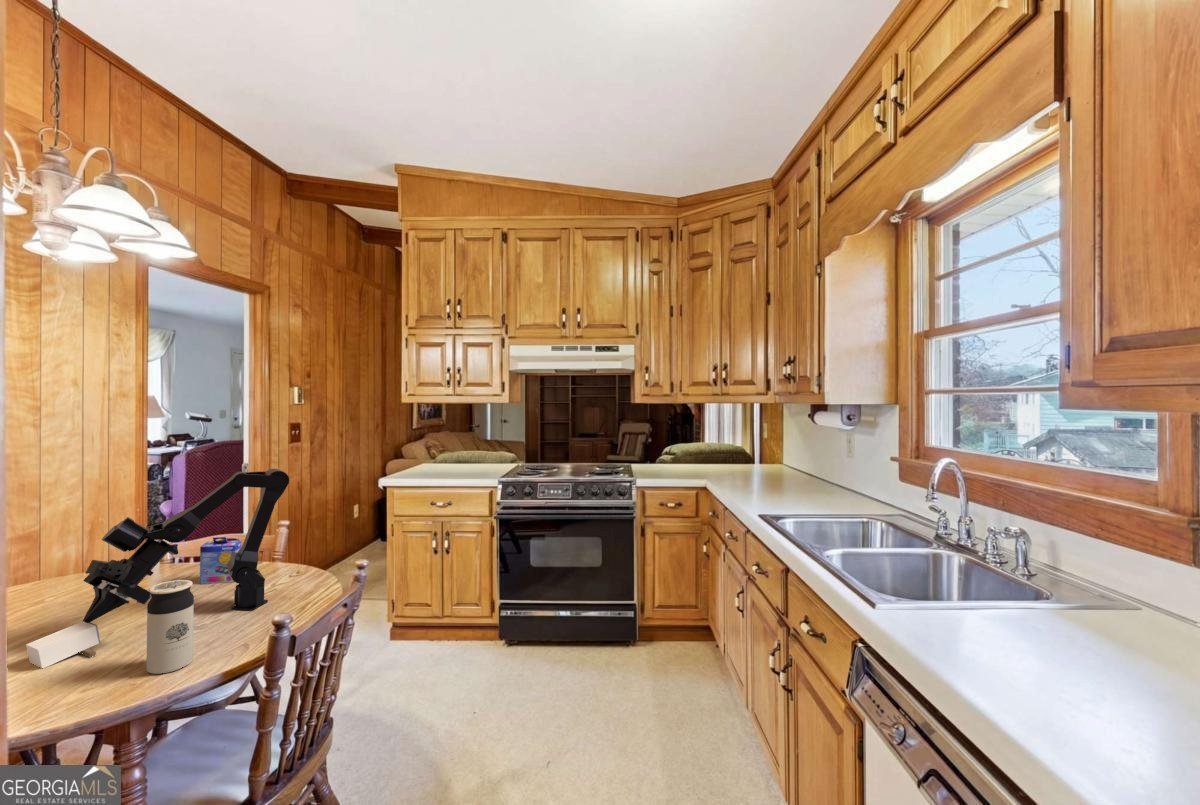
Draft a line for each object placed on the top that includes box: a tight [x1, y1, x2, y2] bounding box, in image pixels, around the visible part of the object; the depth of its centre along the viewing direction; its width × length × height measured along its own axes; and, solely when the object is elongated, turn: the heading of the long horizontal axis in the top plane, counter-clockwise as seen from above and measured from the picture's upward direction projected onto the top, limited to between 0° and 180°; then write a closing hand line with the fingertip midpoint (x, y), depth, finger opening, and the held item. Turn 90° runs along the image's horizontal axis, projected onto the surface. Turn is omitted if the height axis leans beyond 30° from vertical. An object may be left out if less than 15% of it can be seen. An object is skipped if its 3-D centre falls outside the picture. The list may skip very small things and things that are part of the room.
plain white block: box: [25, 620, 101, 669], centre depth 118 cm, size 4×6×10 cm
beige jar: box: [145, 579, 195, 675], centre depth 115 cm, size 8×8×18 cm
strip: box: [79, 648, 97, 658], centre depth 120 cm, size 1×12×1 cm, turn 67°
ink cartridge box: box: [199, 536, 242, 585], centre depth 166 cm, size 10×6×14 cm, turn 107°
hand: (85, 622), depth 121 cm, fingers closed
